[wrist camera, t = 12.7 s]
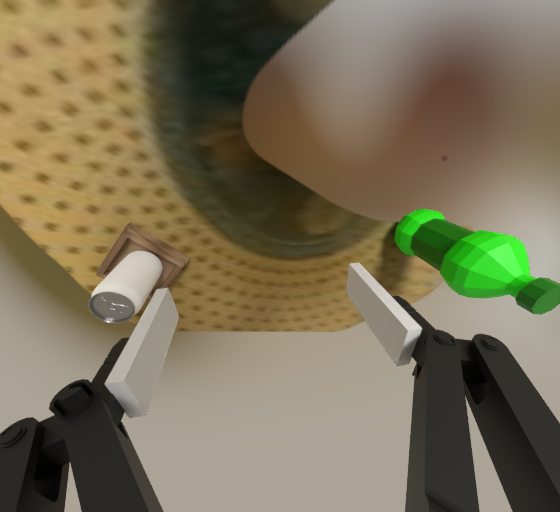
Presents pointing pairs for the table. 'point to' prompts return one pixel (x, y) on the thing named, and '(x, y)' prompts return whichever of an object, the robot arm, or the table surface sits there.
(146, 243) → the tray
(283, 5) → the table surface
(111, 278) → the can
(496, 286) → the plastic bottle
